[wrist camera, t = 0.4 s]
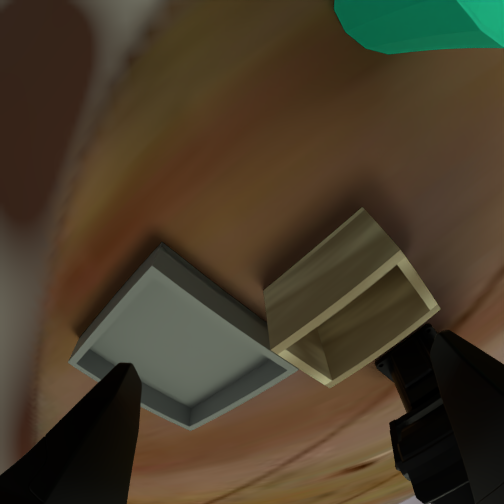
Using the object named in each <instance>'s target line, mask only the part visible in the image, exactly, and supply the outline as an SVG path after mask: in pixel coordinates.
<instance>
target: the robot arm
mask: <svg viewBox="0 0 504 504" xmlns="http://www.w3.org/2000/svg"><path fill="white" fill-rule="evenodd" d="M375 365H376V368H377V369H378V370H379V371H381V372H382V373H383V374H384V375H385V376H387V377H388V378H389V379H390V380H391V381H393V382H394V383H395V386H396V388H397V390H398V393H399V395H400V398H401V400H402V403H403V405H404V407H405V410H406V412H407V413H406V414H405V415H403V416H401V417H400V418H398V419H396V420H393V421H391V422H390V423H389V425H390V435H391V441H392V447H393V453H394V459H395V467H396V469H397V470H399V471H401V473H402V474H403V476H404V477H405V478H406V479H407V480H409V481H411V483H412V486H413V489H414V492H415V496H416V498H417V499H418V500H420V501H421V502H422V503H424V504H428V503H431V504H504V364H502V363H501V362H499V361H498V360H496V359H495V358H493V357H491V356H490V355H488V354H487V353H485V352H484V351H482V350H481V349H479V348H477V347H476V346H474V345H473V344H471V343H469V342H468V341H466V340H465V339H463V338H461V337H460V336H458V335H457V334H455V333H453V332H452V331H450V330H446V331H441V332H438V333H437V332H436V331H435V330H434V328H433V327H432V325H431V324H427V325H425V326H424V327H423V328H421V329H420V330H419V331H418V332H416V333H415V334H414V335H412V336H411V337H410V338H408V339H407V340H406V341H404V342H403V343H402V344H400V345H399V346H398V347H396V348H395V349H393V350H392V351H391V352H389V353H388V354H386V355H385V356H384V357H382V358H381V359H379V360H378V361H377V362H376V363H375ZM141 394H142V382H141V379H140V377H139V375H138V373H137V371H136V369H135V367H134V365H133V364H132V363H127V362H120V363H118V364H117V365H116V366H115V367H114V368H113V369H112V370H111V371H110V372H109V373H108V374H107V375H106V376H105V377H103V378H102V379H101V380H100V381H99V382H98V383H97V384H96V385H95V386H94V387H93V388H92V389H91V390H90V391H89V392H88V393H87V394H86V395H85V396H84V397H83V398H82V399H81V400H80V401H79V402H78V403H77V404H76V405H75V406H74V407H73V408H72V409H71V410H70V411H69V412H68V413H67V414H66V415H65V416H64V417H63V418H62V419H61V420H60V421H59V422H58V423H57V424H56V425H55V426H54V427H53V428H52V429H51V430H50V431H49V432H48V433H47V434H46V435H45V437H43V438H42V439H41V440H40V441H39V442H38V443H37V444H36V445H35V446H34V447H33V448H32V449H31V450H30V451H29V452H28V453H26V454H25V455H24V456H23V457H22V458H21V459H19V460H18V461H17V462H16V463H15V464H14V465H12V466H11V467H10V468H9V469H7V470H6V471H5V472H4V473H2V474H1V475H0V504H127V498H128V491H129V484H130V478H131V472H132V466H133V460H134V454H135V448H136V443H137V437H138V431H139V419H140V406H141Z"/></svg>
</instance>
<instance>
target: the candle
mask: <svg viewBox="0 0 504 504" xmlns="http://www.w3.org/2000/svg"><path fill="white" fill-rule="evenodd" d="M334 11H335V13H336V15H337V17H338V19H339V21H340V23H341V25H342V27H343V29H344V31H345V32H346V33H347V34H348V35H350V36H351V37H352V38H353V39H355V40H356V41H357V42H358V43H359V44H361V45H362V46H363V47H364V48H365V49H369V50H373V51H377V52H381V53H384V54H388V55H390V54H397V53H406V52H415V51H426V50H439V49H457V48H504V0H335V1H334Z"/></svg>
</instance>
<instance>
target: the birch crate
mask: <svg viewBox="0 0 504 504" xmlns="http://www.w3.org/2000/svg"><path fill="white" fill-rule="evenodd" d="M263 293H264V301H265V309H266V317H267V325H268V333H269V341H270V349H271V351H273V352H274V353H276V354H277V355H279V356H280V357H282V358H283V359H285V360H286V361H288V362H289V363H291V364H293V365H294V366H296V367H297V368H299V369H300V370H302V371H303V372H305V373H306V374H308V375H310V376H311V377H313V378H314V379H316V380H317V381H319V382H321V383H322V384H324V385H325V386H327V387H329V388H331V387H333V386H334V385H336V384H338V383H339V382H341V381H342V380H344V379H346V378H347V377H349V376H350V375H352V374H353V373H355V372H356V371H358V370H360V369H361V368H363V367H364V366H366V365H367V364H368V363H370V362H371V361H373V360H374V359H376V358H377V357H379V356H380V355H382V354H383V353H384V352H386V351H387V350H389V349H390V348H391V347H393V346H394V345H395V344H397V343H398V342H400V341H401V340H402V339H404V338H405V337H406V336H408V335H409V334H410V333H411V332H413V331H414V330H415V329H417V328H418V327H419V326H421V325H422V324H423V323H424V322H426V321H427V320H428V319H429V318H431V317H432V316H433V315H434V314H435V313H437V312H438V311H439V310H440V307H439V306H438V304H437V303H436V301H435V299H434V298H433V296H432V295H431V293H430V292H429V290H428V289H427V287H426V286H425V284H424V283H423V281H422V280H421V278H420V277H419V275H418V274H417V272H416V271H415V269H414V268H413V267H412V265H411V264H410V262H409V261H408V259H407V258H406V257H405V255H404V254H403V252H402V251H401V250H400V249H399V247H398V246H397V245H396V244H395V243H394V242H393V240H392V239H391V238H390V237H389V236H388V235H387V234H386V232H385V231H384V230H383V229H382V228H381V227H380V226H379V225H378V224H377V222H376V221H375V220H374V219H373V218H372V217H371V216H370V215H369V214H368V213H367V212H366V210H365V209H364V208H363V207H362V208H360V209H359V210H358V211H357V212H356V213H355V214H354V215H352V216H351V217H350V218H349V219H348V220H347V221H345V222H344V223H343V224H342V225H341V226H340V227H338V228H337V229H336V230H335V231H334V232H333V233H331V234H330V235H329V236H328V237H327V238H326V239H324V240H323V241H322V242H321V243H320V244H319V245H317V246H316V247H315V248H314V249H313V250H311V251H310V252H309V253H308V254H307V255H306V256H304V257H303V258H302V259H301V260H300V261H298V262H297V263H296V264H295V265H294V266H292V267H291V268H290V269H289V270H288V271H286V272H285V273H284V274H283V275H282V276H280V277H279V278H278V279H277V280H275V281H274V282H273V283H272V284H271V285H269V286H268V287H267V288H266V289H264V290H263Z"/></svg>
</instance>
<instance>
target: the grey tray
mask: <svg viewBox="0 0 504 504" xmlns="http://www.w3.org/2000/svg"><path fill="white" fill-rule="evenodd" d="M120 362H127V363H132V364H133V365H134V367H135V369H136V371H137V373H138V375H139V377H140V379H141V382H142V394H141V407H143V408H144V409H146V410H148V411H150V412H152V413H154V414H156V415H158V416H160V417H162V418H164V419H166V420H168V421H170V422H172V423H175V424H177V425H179V426H181V427H183V428H185V429H188V430H190V431H191V430H193V429H195V428H197V427H199V426H201V425H203V424H205V423H207V422H209V421H211V420H213V419H215V418H217V417H219V416H221V415H222V414H224V413H226V412H228V411H230V410H232V409H234V408H235V407H237V406H239V405H241V404H243V403H244V402H246V401H248V400H250V399H251V398H253V397H255V396H257V395H258V394H260V393H262V392H263V391H265V390H267V389H268V388H270V387H272V386H273V385H275V384H277V383H278V382H280V381H282V380H283V379H285V378H286V377H288V376H290V375H291V374H293V373H294V372H296V371H298V370H299V368H297V367H296V366H294V365H293V364H291V363H289V362H288V361H286V360H285V359H283V358H282V357H280V356H279V355H277V354H276V353H274V352H273V351H271V349H270V341H269V333H268V325H267V323H266V322H265V321H264V320H262V319H261V318H260V317H258V316H257V315H256V314H254V313H253V312H252V311H250V310H249V309H248V308H246V307H245V306H244V305H242V304H241V303H240V302H238V301H237V300H236V299H234V298H233V297H232V296H230V295H229V294H228V293H226V292H225V291H224V290H223V289H221V288H220V287H219V286H217V285H216V284H215V283H213V282H212V281H211V280H210V279H208V278H207V277H206V276H204V275H203V274H202V273H201V272H199V271H198V270H197V269H196V268H194V267H193V266H192V265H190V264H189V263H188V262H187V261H185V260H184V259H183V258H182V257H180V256H179V255H178V254H177V253H175V252H174V251H173V250H172V249H170V248H169V247H168V246H167V245H165V244H164V243H163V242H161V244H160V245H159V246H158V247H157V248H156V249H155V250H154V251H153V252H152V253H151V255H150V256H149V257H148V258H147V259H146V260H145V261H144V262H143V263H142V265H141V266H140V267H139V268H138V269H137V270H136V271H135V273H134V274H133V275H132V276H131V277H130V278H129V279H128V281H127V282H126V283H125V284H124V285H123V286H122V287H121V289H120V290H119V291H118V292H117V293H116V294H115V296H114V297H113V298H112V299H111V300H110V302H109V303H108V304H107V305H106V306H105V308H104V309H103V310H102V311H101V312H100V314H99V315H98V316H97V317H96V318H95V320H94V321H93V322H92V323H91V324H90V326H89V327H88V328H87V329H86V331H85V332H84V333H83V334H82V336H81V337H80V338H79V340H78V342H77V344H76V346H75V348H74V350H73V353H72V355H71V357H70V359H69V361H68V363H69V364H71V365H72V366H74V367H75V368H77V369H78V370H80V371H81V372H83V373H84V374H86V375H87V376H89V377H91V378H92V379H94V380H95V381H97V382H99V381H100V380H101V379H102V378H103V377H105V376H106V375H107V374H108V373H109V372H110V371H111V370H112V369H113V368H114V367H115V366H116V365H117V364H118V363H120Z"/></svg>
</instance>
